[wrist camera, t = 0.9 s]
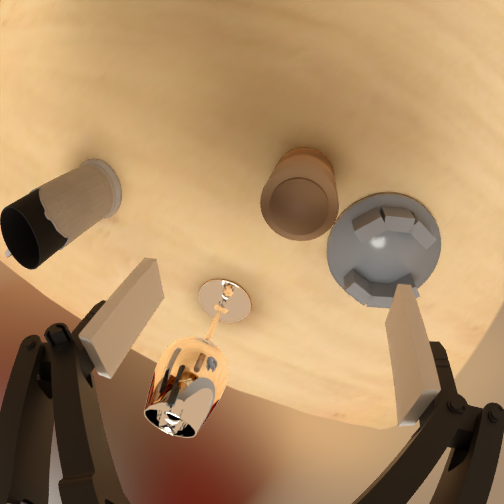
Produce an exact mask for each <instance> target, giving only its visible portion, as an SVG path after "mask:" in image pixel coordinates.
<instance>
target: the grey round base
mask: <svg viewBox="0 0 504 504" xmlns="http://www.w3.org/2000/svg"><path fill="white" fill-rule="evenodd" d="M440 250H441V237H440V232H439V229H438V226H437V224H436V222H435V220H434V218H433V217H432V215H431V214H430V213H429V211H428V210H427V209H426V208H425V207H424V206H423V205H422V204H420V203H419V202H418V201H416V200H414V199H412V198H410V197H408V196H405V195H401V194H396V193H380V194H375V195H371V196H368V197H365V198H363V199H361V200H359V201H357V202H355V203H354V204H352V205H351V206H350V207H348V208H347V209H346V210H345V211H344V212H343V213H342V214H341V215H340V217H339V218H338V219H337V221H336V222H335V224H334V226H333V228H332V230H331V232H330V235H329V239H328V244H327V259H328V265H329V268H330V271H331V273H332V275H333V277H334V279H335V280H336V282H337V283H338V284H339V285H340V286H341V287H342V288H343V289H344V290H345V292H347V293H348V294H349V295H351V296H352V297H353V298H354V299H356V300H357V301H358V302H360V303H361V304H362V305H365V304H366V303H367V307H378V308H390V307H391V304H392V301H393V298H394V295H395V291H396V288H397V285H398V284H405V285H411V287H412V289H413V292H414V295H415V298H417V297H419V296H420V295H419V292H418V290H417V289H418V288H419V287H420V286H421V285H422V284H423V283H424V282H425V281H426V280H427V279H428V278H429V277H430V275H431V274H432V272H433V271H434V269H435V267H436V265H437V262H438V259H439V255H440Z"/></svg>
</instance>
